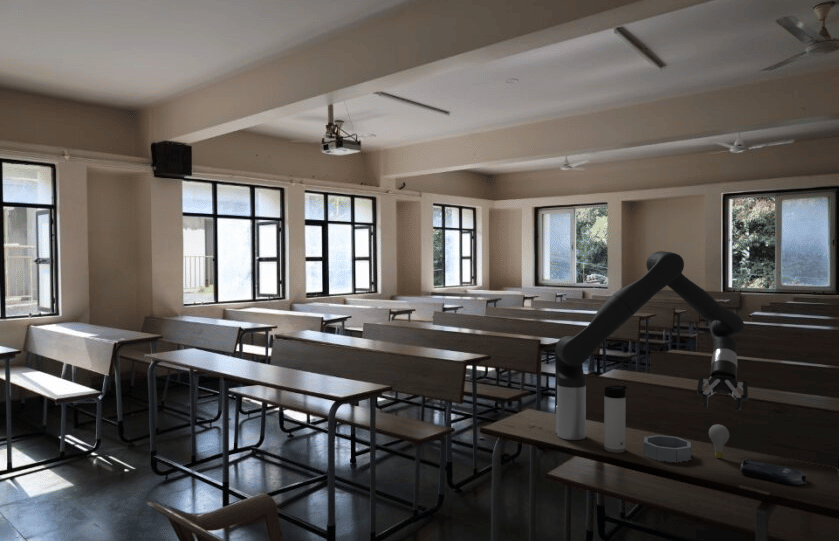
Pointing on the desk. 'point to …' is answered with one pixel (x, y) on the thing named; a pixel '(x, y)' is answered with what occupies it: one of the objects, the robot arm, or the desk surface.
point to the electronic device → (773, 472)
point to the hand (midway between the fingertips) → (721, 408)
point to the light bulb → (718, 438)
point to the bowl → (667, 448)
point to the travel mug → (614, 418)
